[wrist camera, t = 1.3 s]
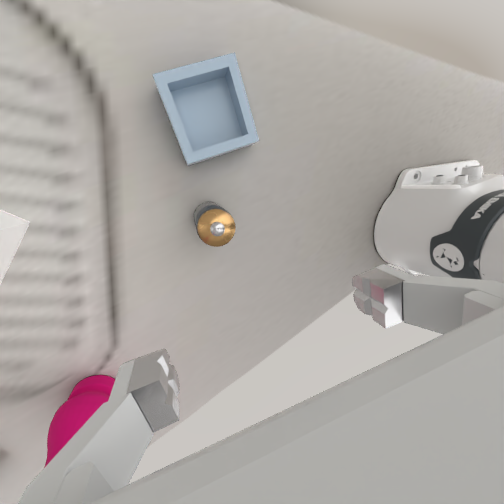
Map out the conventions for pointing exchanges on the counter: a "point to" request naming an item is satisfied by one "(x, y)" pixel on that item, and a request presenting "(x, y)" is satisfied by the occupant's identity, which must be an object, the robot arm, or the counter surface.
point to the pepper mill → (77, 411)
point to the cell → (214, 224)
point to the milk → (10, 238)
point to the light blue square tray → (207, 108)
